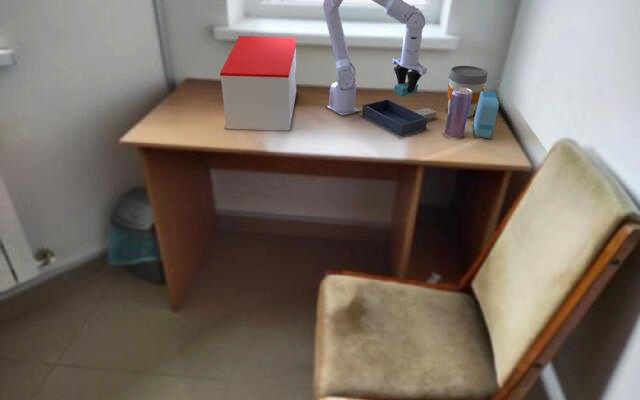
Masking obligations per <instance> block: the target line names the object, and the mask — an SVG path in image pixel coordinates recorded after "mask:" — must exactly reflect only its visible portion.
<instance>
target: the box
mask: <svg viewBox="0 0 640 400" xmlns="http://www.w3.org/2000/svg"><path fill="white" fill-rule="evenodd" d="M414 111H415V110H411V109H410V108H407V107H406V106H404V105H401V104H399V103H397V102H395V101H393V100H391V99H388V98H386V99H382V100H377V101H373V102H368V103H364V104H362V111H361V116H362V117H364V118H366V119H367V120H370V121H371V122H373V123H374V124H376V125H378V126H380V127H382V128H384V129H386V130H387V131H389V132H391V133H393V134H395V135H396V136H399V137H404V136H407V135H410V134H413V133H417V132H420V131H423V130H426V129H427V126H428V125H427V124H428V120H427V119H428V118H427V117H425V116H422V115H420V114H418V113H416V112H414Z"/></svg>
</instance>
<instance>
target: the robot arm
mask: <svg viewBox="0 0 640 400" xmlns="http://www.w3.org/2000/svg"><path fill="white" fill-rule="evenodd" d="M343 1H344V0H323V3H322V9H323V14H324V18H325V23H326V27H327V30H328V34H329V39H330V42H331V48H332V51H333V55H334V59H335V66H336V72H337V76H336V82H334V83H332V84H331V86H330V88H329V100H328V101H329V102H328V103H329V104H328V105H327V108H328V109H331V110H332V111H334V112H335V113H337V114H339V115H341V116H345V115H349V114H353V113H358V112H360V111H361V110H360V109H359V108H356V96H357V84H356V75H357V74H356V73H357V71H356V68H355V66H354V65H353V63H352V60H351V58H350V55H349V54H350V53H349V50H348V45H347V42H346V37H345V32H344V28H343V23H342V18H341V15H340V10H339V9H340V6H341V4H342V3H343ZM371 2H374V3H375V4H377V5H379V6H380V7H382V8H383V9H384V13H385V14H386V15H387V16H389V17H390V18H392V19H394V20H395V21H397V22H398V23H400V24H405V29H404V34H403V40H402V48H401V49H402V50H401V57H397V56H396V57H392V62H391V63H392V65H396V66H394V67H393V71H394V73H395V75H396V80H397V84H401V83H405V82H408V92H409V93H410V92H413V91H414V88H415V86H416V84H417V85H418V82H419V80H420V79H421V78H422V76H424V75H427V72H428V67H425V66H424V65H422V64H421V61H419V58H420V52H421V46H422V40H423V29H424V28H425V26H426V17H425V15H424V14H423V12H422V11H421V10H420V9H419V8H418V7H416V6H415V5H413V4H412V5H410V3H408V2H406V1H404V0H371ZM406 80H407V81H406Z"/></svg>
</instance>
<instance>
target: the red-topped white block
mask: <svg viewBox="0 0 640 400" xmlns="http://www.w3.org/2000/svg"><path fill="white" fill-rule="evenodd" d="M219 77H220V83H221V93H222V102H223V103H222V104H223V111H224V121H225V129H227V130H257V131H258V130H259V131H260V130H261V131H263V130H264V131H290V129H291V124H292V120H293V113H294V108H295V101H296V97H297V37H296V36H263V35H261V36H260V35H257V36H256V35H238V36H237V38H236V40H235V43H234V45H233V46H232V48H231V51H230V52H229V54H228V56H227V58H226V60H225V62H224V64H223V66H222V68H221V70H220V72H219Z"/></svg>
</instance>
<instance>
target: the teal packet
mask: <svg viewBox="0 0 640 400" xmlns="http://www.w3.org/2000/svg"><path fill="white" fill-rule="evenodd" d="M418 88H419V84H418V83H417V84H416V86H415V88H414V91H413V92H410V93H409V92H408V81H405V83H401V84H398V83H397V84H394V88H393V94H395V95H398V96H400V97H406V96H409V95H413V94H417V93H418Z"/></svg>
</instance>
